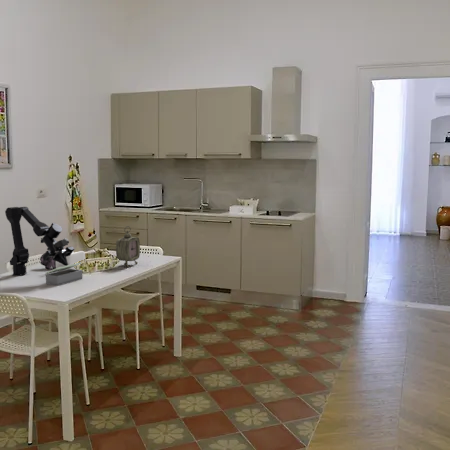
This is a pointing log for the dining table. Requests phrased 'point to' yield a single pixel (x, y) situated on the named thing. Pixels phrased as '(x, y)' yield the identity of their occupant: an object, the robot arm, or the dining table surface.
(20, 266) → the robot arm
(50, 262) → the decorative flower
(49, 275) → the grey open box
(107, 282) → the dining table surface
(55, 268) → the cover
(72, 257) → the cable organizer
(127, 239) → the tabletop clock
